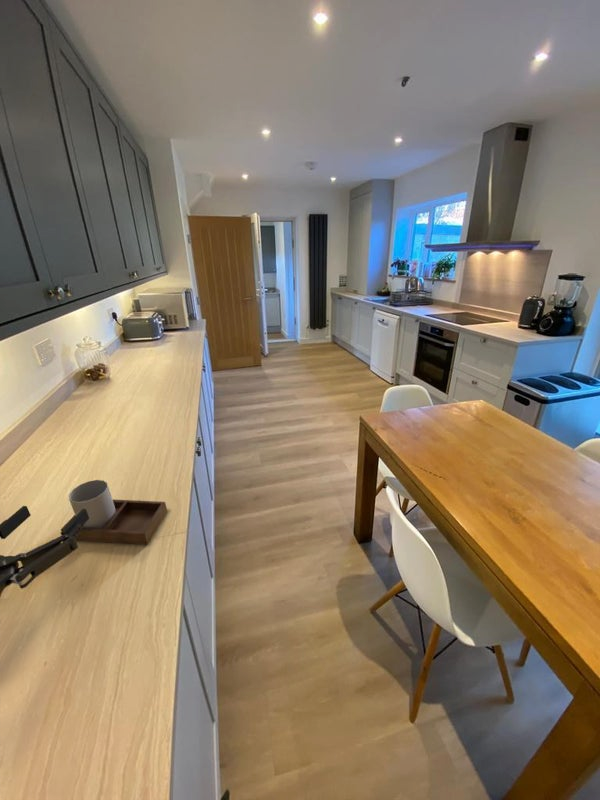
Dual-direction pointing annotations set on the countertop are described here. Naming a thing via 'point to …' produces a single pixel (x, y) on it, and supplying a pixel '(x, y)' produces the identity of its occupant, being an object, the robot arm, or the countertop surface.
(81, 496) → the cup
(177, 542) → the countertop surface
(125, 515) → the tray
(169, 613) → the countertop surface
